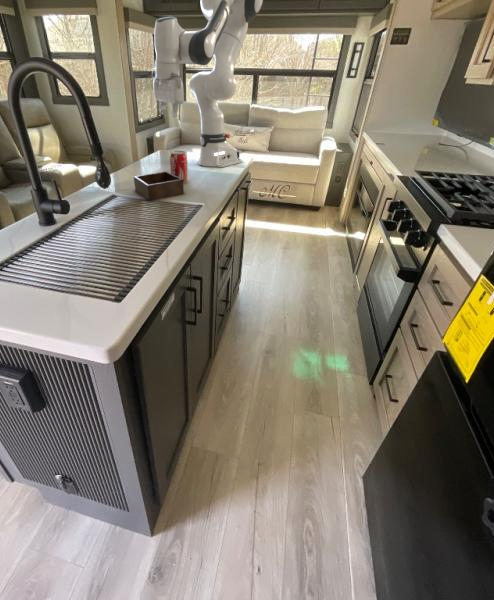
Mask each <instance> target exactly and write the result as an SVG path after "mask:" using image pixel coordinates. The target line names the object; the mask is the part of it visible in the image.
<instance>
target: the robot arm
mask: <svg viewBox="0 0 494 600" xmlns="http://www.w3.org/2000/svg"><path fill="white" fill-rule="evenodd" d="M263 1H264V0H200V8H201V9H200V10H201V12H202V15H203V16H204V18H205V19H206V20H207V24H206V26H205V27H204V28H202V29H200V30H192V31H191V30H190V31H186V30H185V29H184V28H183V27H181V26H180V24H179V22H178V18H177V17H175V16H167V17H166V16H165V17H159V18H157V19H156V20H155V25H154V33H153V35H154V36H153V38H154V39H153V41H154V50H155V67H154V68H153V70H152V71H151V78H152V79H153V82H152V85H153V96H154V99H155V101H158V102H159V106H160V111H161V115H164V116H165V115H168V109H167V106H166V105H167V103H169V104H171V107H172V109H171V111H170V114H171V115H170V116H171V118H177V117H178V110H179V105H183V104H184V102H185V92H184V91H185V90H184V82H183V80H182V77H181V70H180V67H181V65H182V64H183V65H185V64H186V65H198V66H207V65H208V64H209V63H211V61H212V60H213V62H214V64H213V68H212V70H211V71H209V70H208V71H199V72H197V73H194V74H193V75H192V76H191V78H190V80H189V90H190V93H191V94H192V96H193V97H194V100H195V102H196V105H197V106H198V112H199V116H200V134H199V135H200V136H199V137H200V141H199V142H200V154H199V159H198V165H200V166H204V167H212V168H213V167H215V168H224V167H229V166H232V165H236V164H240V163H242V159H241V158H240V151H238V150H237V148H235V147H234V146H233V145H232V144H231V143H229V141H227V139H230V137H231V134H230V133H225V132H224V131H225V130H224V129H225V116H224V113H223V111H222V110H221V109H220V107H219V104H218V102H219V101H220V102H223V101H227V100H230V99H232V98H233V97H234V96H235V93H236V91H237V81H236V77H235V76H234V75H235V74H234V73H235V66H236V63H237V60H238V58H239V55H240V53H241V51H242V48H243V45H244V42H245V40H246V36H247V33H248V28H249V23H251V22H252V21H253V20H254V18H256V17H257V15H258V14H259V13H260V12H261V10H262V6H263V3H264V2H263ZM180 64H181V65H180Z"/></svg>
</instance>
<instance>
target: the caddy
mask: <svg viewBox="0 0 494 600" xmlns="http://www.w3.org/2000/svg"><path fill="white" fill-rule="evenodd" d="M133 182H134V189H135V192H137V193H138V194H140V195H141V196H142V197H144V198H145V199H147V200H148V201H154V200H160V199H165V198H170V197H171V198H172V197H176V196H181V195H184V193H185V191H184V183H183V179H181V178H179V177H177V176H175V175H173V174H171V172H169V171H167V170H165V171H160V172H159V171H158V172H154V173H148V174H147V173H145V174H141V175H134V176H133Z"/></svg>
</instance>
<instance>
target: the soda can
mask: <svg viewBox="0 0 494 600" xmlns="http://www.w3.org/2000/svg"><path fill="white" fill-rule="evenodd" d="M169 166H170V173H171V174H173V175H175V176H177V177H179V178H181V179H183V184H185V183H186V182H187V181H188V158H187V155H186V151H183V150H173V151H171V152H170V156H169Z"/></svg>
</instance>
